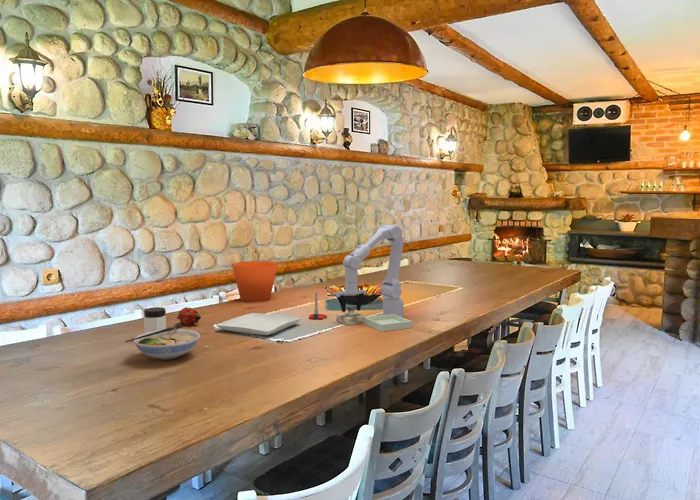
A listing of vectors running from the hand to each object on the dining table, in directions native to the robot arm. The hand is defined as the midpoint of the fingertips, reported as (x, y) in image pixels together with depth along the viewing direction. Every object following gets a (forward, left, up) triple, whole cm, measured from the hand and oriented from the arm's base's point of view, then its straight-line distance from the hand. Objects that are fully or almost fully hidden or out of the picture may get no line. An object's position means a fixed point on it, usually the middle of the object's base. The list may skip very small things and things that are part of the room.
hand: (351, 311), depth 250 cm
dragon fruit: (+67, -28, -5) cm, 73 cm away
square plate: (+41, -8, -6) cm, 42 cm away
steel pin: (0, 0, -5) cm, 5 cm away
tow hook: (+10, -15, -5) cm, 19 cm away
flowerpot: (+22, -70, -5) cm, 74 cm away
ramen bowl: (+84, +17, -5) cm, 86 cm away
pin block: (0, 0, -5) cm, 5 cm away
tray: (-11, +14, -5) cm, 19 cm away
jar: (+84, -11, -5) cm, 85 cm away
